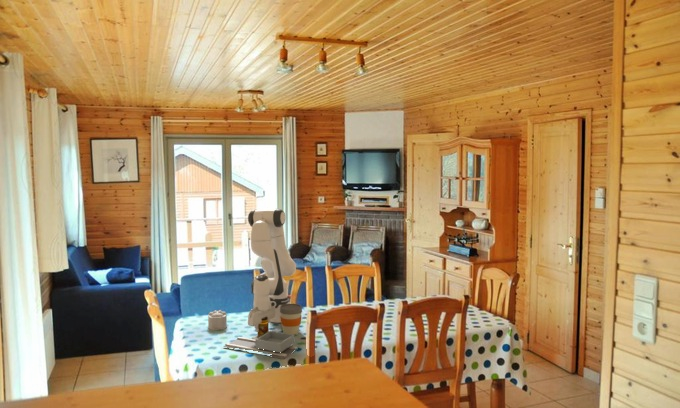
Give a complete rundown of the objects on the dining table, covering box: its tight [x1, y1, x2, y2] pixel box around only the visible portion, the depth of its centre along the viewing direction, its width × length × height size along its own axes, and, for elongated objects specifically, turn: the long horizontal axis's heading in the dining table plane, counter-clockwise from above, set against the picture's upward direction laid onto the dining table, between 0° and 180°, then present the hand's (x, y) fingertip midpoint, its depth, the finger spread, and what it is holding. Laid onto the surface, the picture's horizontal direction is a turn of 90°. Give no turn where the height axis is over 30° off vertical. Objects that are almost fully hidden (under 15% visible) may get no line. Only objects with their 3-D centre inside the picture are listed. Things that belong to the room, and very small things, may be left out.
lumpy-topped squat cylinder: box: [207, 309, 228, 331], centre depth 329 cm, size 10×13×9 cm
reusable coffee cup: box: [280, 303, 303, 336], centre depth 320 cm, size 13×13×15 cm
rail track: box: [223, 336, 299, 360], centre depth 295 cm, size 16×36×2 cm, turn 66°
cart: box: [255, 330, 295, 353], centre depth 291 cm, size 15×15×6 cm
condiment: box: [252, 316, 270, 340], centre depth 310 cm, size 7×8×12 cm
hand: (261, 329), depth 310 cm, fingers closed on condiment, 6 cm apart
